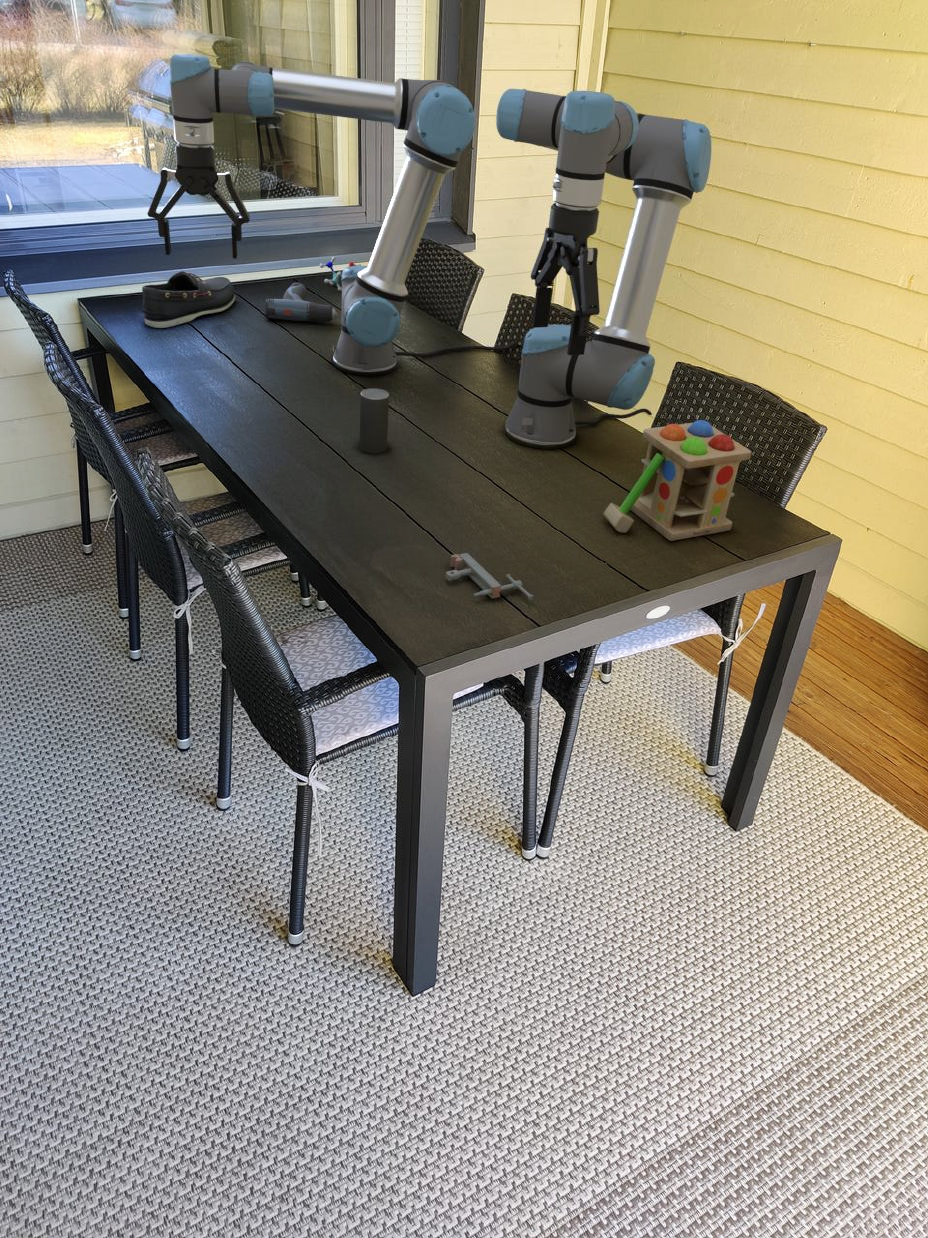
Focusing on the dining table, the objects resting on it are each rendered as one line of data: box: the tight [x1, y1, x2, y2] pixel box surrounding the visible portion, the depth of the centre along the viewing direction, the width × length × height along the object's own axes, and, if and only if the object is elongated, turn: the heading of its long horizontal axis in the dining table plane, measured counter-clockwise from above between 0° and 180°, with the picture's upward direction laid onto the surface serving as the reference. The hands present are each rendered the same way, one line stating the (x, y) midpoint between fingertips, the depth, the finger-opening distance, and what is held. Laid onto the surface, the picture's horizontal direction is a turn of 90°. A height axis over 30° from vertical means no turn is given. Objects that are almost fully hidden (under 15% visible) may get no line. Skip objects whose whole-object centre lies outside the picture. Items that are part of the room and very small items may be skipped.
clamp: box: [445, 552, 535, 601], centre depth 158 cm, size 15×2×10 cm
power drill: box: [264, 282, 338, 322], centre depth 265 cm, size 5×19×20 cm
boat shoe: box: [141, 270, 236, 329], centre depth 257 cm, size 13×33×10 cm, turn 147°
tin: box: [358, 388, 390, 455], centre depth 196 cm, size 6×6×12 cm
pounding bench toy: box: [603, 419, 753, 542], centre depth 178 cm, size 23×14×18 cm, turn 116°
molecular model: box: [319, 256, 362, 292], centre depth 287 cm, size 12×10×10 cm
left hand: (201, 255), depth 206 cm, fingers open, 13 cm apart
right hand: (557, 340), depth 163 cm, fingers open, 13 cm apart
